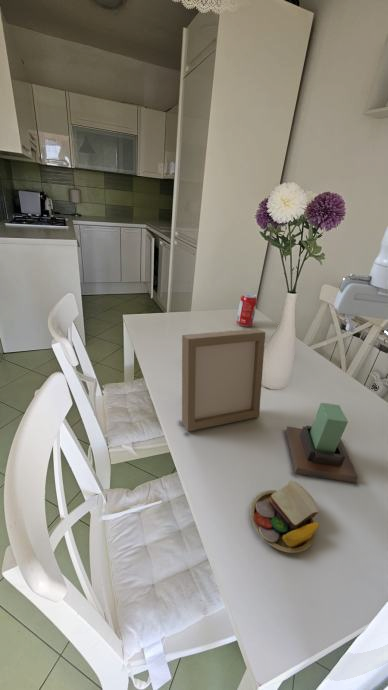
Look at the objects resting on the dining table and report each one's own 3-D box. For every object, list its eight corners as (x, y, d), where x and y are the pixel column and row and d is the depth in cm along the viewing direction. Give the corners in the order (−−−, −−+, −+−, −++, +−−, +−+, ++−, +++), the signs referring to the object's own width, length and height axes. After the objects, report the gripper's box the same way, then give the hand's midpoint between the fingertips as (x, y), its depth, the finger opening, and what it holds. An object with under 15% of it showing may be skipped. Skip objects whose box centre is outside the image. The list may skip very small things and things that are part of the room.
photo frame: (258, 419, 87) (277, 341, 76) (187, 434, 79) (197, 350, 68) (233, 389, 99) (247, 318, 88) (170, 399, 91) (176, 323, 80)
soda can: (232, 323, 149) (237, 293, 142) (243, 319, 154) (248, 291, 147) (245, 328, 144) (251, 298, 137) (255, 325, 149) (261, 296, 142)
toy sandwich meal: (237, 503, 63) (241, 488, 61) (290, 486, 68) (295, 471, 66) (273, 566, 53) (279, 551, 51) (331, 540, 58) (339, 525, 56)
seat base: (336, 439, 83) (342, 425, 81) (355, 482, 71) (363, 467, 68) (285, 431, 84) (289, 417, 81) (295, 473, 71) (300, 458, 69)
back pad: (324, 441, 79) (339, 405, 73) (331, 459, 74) (348, 421, 68) (307, 439, 79) (320, 402, 74) (312, 457, 74) (327, 418, 68)
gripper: (349, 276, 67) (330, 333, 73) (444, 288, 66) (416, 344, 73) (339, 270, 73) (323, 322, 79) (427, 280, 72) (403, 333, 78)
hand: (368, 333), depth 76 cm, fingers open, 8 cm apart
